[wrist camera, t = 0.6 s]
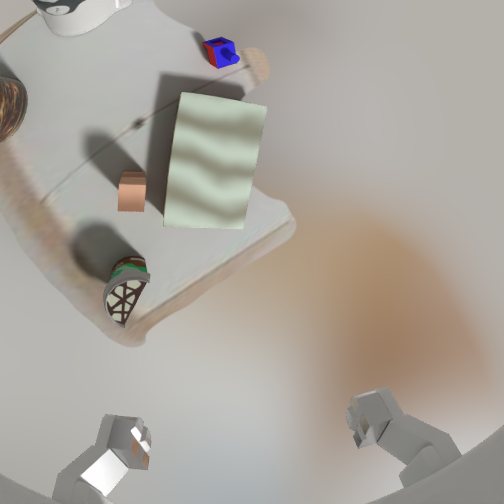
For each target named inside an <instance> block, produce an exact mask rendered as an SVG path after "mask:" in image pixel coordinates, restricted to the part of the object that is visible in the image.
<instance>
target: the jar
mask: <svg viewBox="0 0 504 504" xmlns="http://www.w3.org/2000/svg"><path fill="white" fill-rule="evenodd" d="M27 101H28V99H27V92H26V89H25V87H24V85H23V84H22V83H21V82H20V81H18V80H16V79H12V78H8V77H3V76H0V142H3V141H5V140H7V139H9V138H10V137H11V136H12V135H13V134H14V133H15V132H16V131H17V130H18V128H19V127H20V125H21V123H22V121H23V119H24V116H25V113H26V109H27Z"/></svg>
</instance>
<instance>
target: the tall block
mask: <svg viewBox="0 0 504 504" xmlns="http://www.w3.org/2000/svg"><path fill="white" fill-rule="evenodd" d="M145 192H146V175H145V172H132V171H123V174H122V177H121V180H120V183H119V193H118V211H136V212H144V205H145Z"/></svg>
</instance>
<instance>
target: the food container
mask: <svg viewBox="0 0 504 504" xmlns="http://www.w3.org/2000/svg"><path fill="white" fill-rule="evenodd" d="M149 280H150V274H149V273H147V268H146V263H145V259H144V258H141V257H134V256H131V257H126V258H123V259H122V260H120V261H118V262H117V263H116V264H115V266H114V268H113V270H112V274H111V278H110V282H109V283H108V284H107V286H106V287H105V290H104V294H103V302H104V306H105V310H106V312H107V314H108V316H109V317H110V319H111V320H112V321H113V322H114V323H115V324H116V325H118V326H120V327H122V328H124V329H125V323H126V320H127V318H128V317H129V315H130V313H131V311H132V310H133V308H134V306H135V304H136V302H137V300H138V298H139V296H140V294H141V292H142V290H143V289H144V287H145V285H146V283H149Z"/></svg>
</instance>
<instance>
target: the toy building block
mask: <svg viewBox="0 0 504 504" xmlns="http://www.w3.org/2000/svg"><path fill="white" fill-rule="evenodd" d="M203 46H204V47H206V48H207V51H208V55H209V60H210V64H211V65H213V66H214V67H216V68H217V69H219V68H222V67H225V66H228V65H232V64H235V63H237V62H238V61H239V60H240V58H239V56H238V55H236V52H235V46H234V42H232V41H230V40H228V39H225V38H223V37H220V38H216V39H213V40H209V41H205V42H203Z"/></svg>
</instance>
